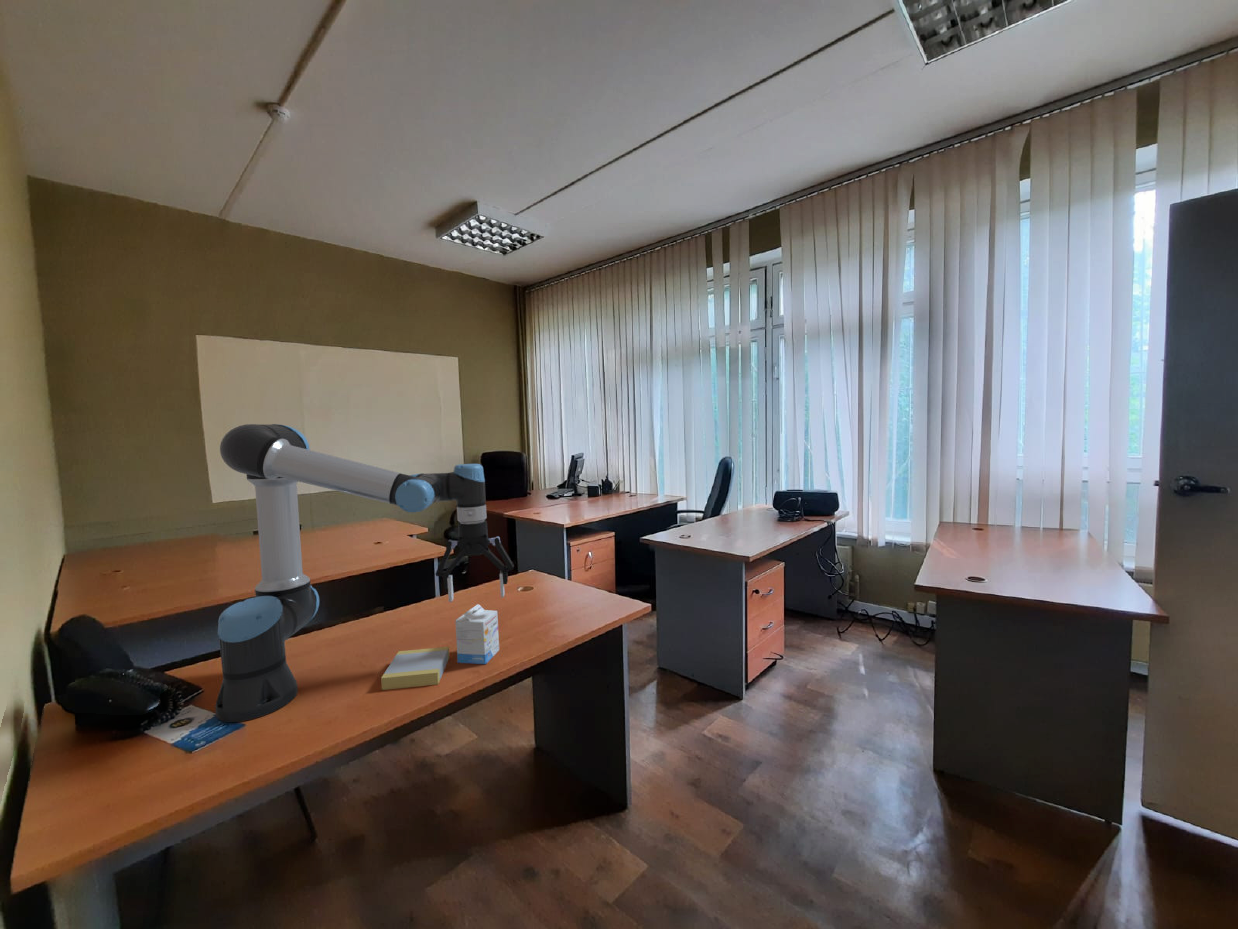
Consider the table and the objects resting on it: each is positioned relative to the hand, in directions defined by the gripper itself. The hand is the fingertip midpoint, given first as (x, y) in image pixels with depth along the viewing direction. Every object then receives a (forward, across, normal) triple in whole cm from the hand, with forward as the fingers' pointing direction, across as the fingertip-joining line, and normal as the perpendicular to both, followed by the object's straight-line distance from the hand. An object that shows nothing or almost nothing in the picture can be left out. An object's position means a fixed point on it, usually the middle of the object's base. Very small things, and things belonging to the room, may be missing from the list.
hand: (477, 598), depth 129 cm
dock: (+16, -15, -6) cm, 23 cm away
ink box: (+17, 0, 0) cm, 17 cm away
